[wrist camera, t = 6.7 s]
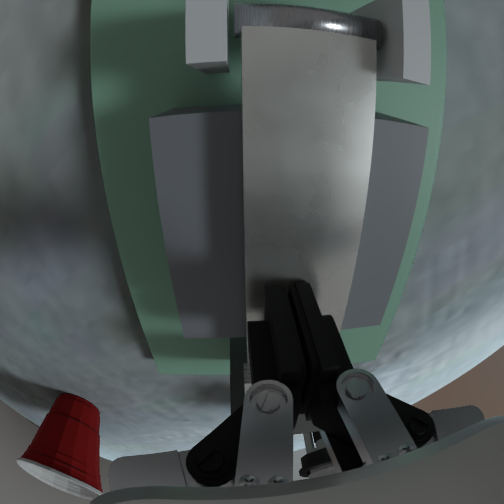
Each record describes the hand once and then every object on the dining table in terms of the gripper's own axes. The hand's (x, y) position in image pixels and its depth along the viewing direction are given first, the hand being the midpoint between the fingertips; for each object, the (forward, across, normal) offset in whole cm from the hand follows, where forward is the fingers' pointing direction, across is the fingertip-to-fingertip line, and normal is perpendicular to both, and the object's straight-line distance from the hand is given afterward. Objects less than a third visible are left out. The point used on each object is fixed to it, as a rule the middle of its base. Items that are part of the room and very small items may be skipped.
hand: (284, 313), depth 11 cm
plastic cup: (+8, +22, +23) cm, 33 cm away
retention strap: (+1, -1, -2) cm, 3 cm away
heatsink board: (+7, -1, -2) cm, 7 cm away
